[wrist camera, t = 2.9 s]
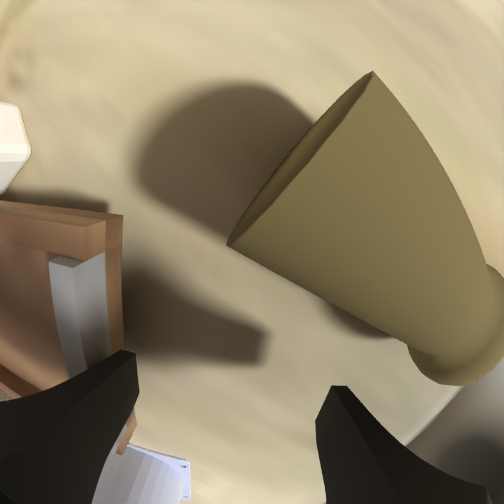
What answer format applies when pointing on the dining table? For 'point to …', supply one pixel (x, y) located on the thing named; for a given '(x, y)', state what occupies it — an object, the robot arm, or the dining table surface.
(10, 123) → the pepper shaker
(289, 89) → the dining table surface
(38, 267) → the brown wooden square tray
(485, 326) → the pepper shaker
